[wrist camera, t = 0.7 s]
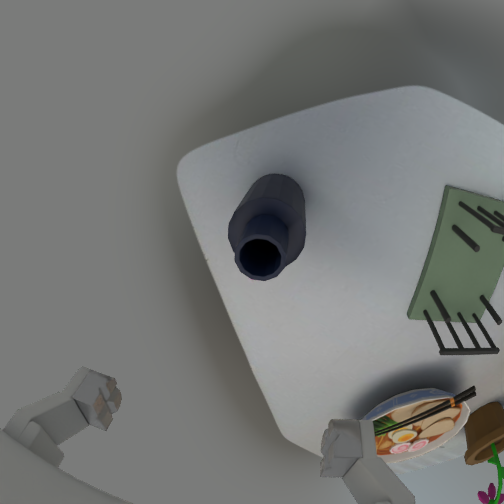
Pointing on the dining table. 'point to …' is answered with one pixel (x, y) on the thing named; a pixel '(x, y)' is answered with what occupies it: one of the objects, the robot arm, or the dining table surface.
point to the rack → (462, 267)
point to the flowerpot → (486, 444)
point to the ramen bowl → (417, 422)
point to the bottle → (268, 227)
